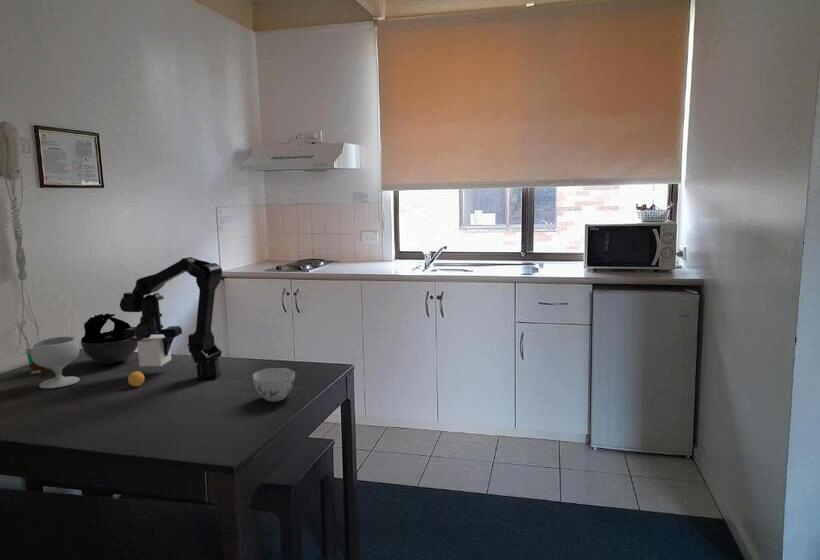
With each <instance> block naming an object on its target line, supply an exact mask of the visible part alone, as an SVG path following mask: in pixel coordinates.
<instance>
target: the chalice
mask: <svg viewBox="0 0 820 560" xmlns="http://www.w3.org/2000/svg"><path fill="white" fill-rule="evenodd" d="M31 349H32V353H31V357H32V360H33V362H34V363H35V364H37V365H39V366H43V367H46V368H49V369H51V370H53V372H54V374H55V377H54V378H51V379H46V380H44V381H43V382H41V383H40V384H39V385H38V387H39V388H40V389H59V388H64V387H68V386H71V385H74V384H76V383H78V382H80V381H81V379H80V378H79V377H78V376H72V375H70V376H63V374H62V373H63V369H64V368H65V367H67V366H68V365H70V364H71V363H72V362H74V361H75V360H76V359H77V358H78V357H79V355H80V347H79V343H78V341H77V340H76V339H75V338H74V337H73V336H57V337H55V336H54V337H50V338H45V339H41V340H37V341H35V342H34V343H33V346H32V348H31Z"/></svg>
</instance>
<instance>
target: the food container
mask: <svg viewBox="0 0 820 560" xmlns="http://www.w3.org/2000/svg"><path fill="white" fill-rule="evenodd" d="M31 353H32V348H26V350H25V355H26V356H27V359H28V364H29V370H30V374H31V376H40V375H46V374H49V373H52V371H53V370H51V369H49V368H46V367H43V366H39V365H37V364H35V363H34V362H33V360H32V357H31ZM53 372H54V371H53Z"/></svg>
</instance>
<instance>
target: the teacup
mask: <svg viewBox="0 0 820 560" xmlns="http://www.w3.org/2000/svg"><path fill="white" fill-rule="evenodd" d="M295 376H296V372H295V371H294V370H292V369H291V368H286V367H282V368H279V367H276V368H273V367H270V368H269V367H268V368H264V369H261V370H258V371H255V372H254V373H253V374H252V379H253V384H254V386H255V389H256V391H257V393H258V394H259V395H260V396H261V397H262V398H263V399H264V400H265V401H267V402H281V401H283V400H284V399H285V398H286V397H287V396H288V394H290V392H291V390H292V389H293V386H294V382H295Z"/></svg>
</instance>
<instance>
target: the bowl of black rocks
mask: <svg viewBox="0 0 820 560" xmlns="http://www.w3.org/2000/svg"><path fill="white" fill-rule="evenodd" d="M115 316H116V313H112V314H110V313H105V314H103V313H100V314H97V315H93V317H92V316H91V317H89V318H88V320H86V321H85V322H84V324H83V328H84V336H83V337H82V338H81V340H80V345H81V349H82V350H83V352H84V353H85V354H86V355H87V356H88V358H90V359H91V360H93V361H95V362H97V363H99V364H105V365H106V364H107V365H111V364H117V363H120V362H123V361H125V360H127V359H128V358H129V357H131V356H132V355H133V353H134V352H135V351H136V350H137V349H138V347H137V344H136V343H135V342H134V341H132V340H129V339H130V338H124V336H123V333H124V331H125V330H126V329H128V328H130V327H132V326H131V325H130V324H129V323H128V322H127V321H124V320H122V319H119V318H118V317H117V318H116V317H115ZM109 320H110V321H111V322H113V324H114V325H113V329H112V330H109V331H104V332H101V331H102V329H103V327H104V326H105V324H106V323H107V322H108V321H109Z"/></svg>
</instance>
